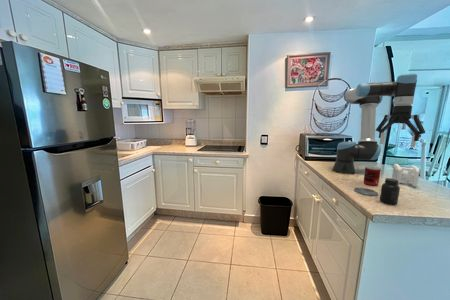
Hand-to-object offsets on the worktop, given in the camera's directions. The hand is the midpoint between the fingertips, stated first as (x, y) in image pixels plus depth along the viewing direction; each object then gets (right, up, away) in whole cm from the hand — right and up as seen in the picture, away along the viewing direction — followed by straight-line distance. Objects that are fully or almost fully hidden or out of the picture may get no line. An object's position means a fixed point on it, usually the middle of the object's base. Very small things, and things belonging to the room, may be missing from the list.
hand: (396, 145), depth 102 cm
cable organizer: (+21, -24, +19) cm, 37 cm away
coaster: (-13, -26, +5) cm, 30 cm away
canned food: (0, -24, +18) cm, 30 cm away
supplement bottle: (-11, -29, -8) cm, 32 cm away
